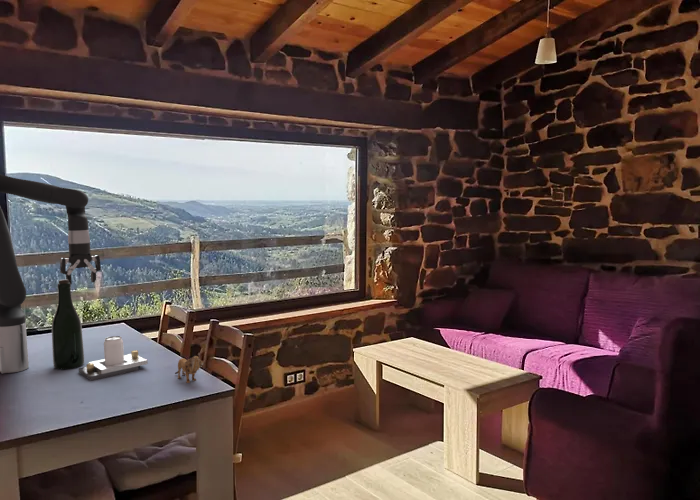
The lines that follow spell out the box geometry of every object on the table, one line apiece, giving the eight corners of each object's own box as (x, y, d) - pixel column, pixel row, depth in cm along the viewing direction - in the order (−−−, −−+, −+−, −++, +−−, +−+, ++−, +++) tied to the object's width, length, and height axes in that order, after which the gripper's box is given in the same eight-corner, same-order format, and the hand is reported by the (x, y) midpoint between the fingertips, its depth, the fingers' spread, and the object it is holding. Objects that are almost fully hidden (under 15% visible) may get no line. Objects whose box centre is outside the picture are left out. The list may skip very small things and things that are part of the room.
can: (127, 367, 203) (126, 335, 202) (118, 372, 197) (116, 340, 196) (111, 367, 204) (109, 335, 203) (101, 372, 198) (99, 340, 197)
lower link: (91, 380, 189) (90, 369, 188) (79, 372, 198) (78, 361, 198) (138, 370, 200) (137, 359, 200) (124, 362, 209) (124, 352, 209)
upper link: (101, 374, 191) (100, 362, 191) (88, 366, 200) (88, 355, 200) (147, 363, 202) (147, 353, 202) (133, 357, 212) (133, 346, 211)
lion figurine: (206, 381, 186) (205, 355, 185) (193, 385, 182) (192, 359, 181) (181, 373, 196) (180, 348, 195) (168, 377, 191) (167, 352, 191)
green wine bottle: (71, 370, 200) (66, 281, 197) (46, 369, 202) (41, 281, 200) (90, 362, 211) (85, 277, 208) (66, 361, 213) (61, 277, 210)
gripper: (62, 243, 205) (64, 286, 206) (101, 241, 214) (103, 282, 216) (56, 242, 210) (59, 284, 212) (95, 240, 220) (97, 280, 221)
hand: (81, 283), depth 214 cm, fingers open, 8 cm apart
